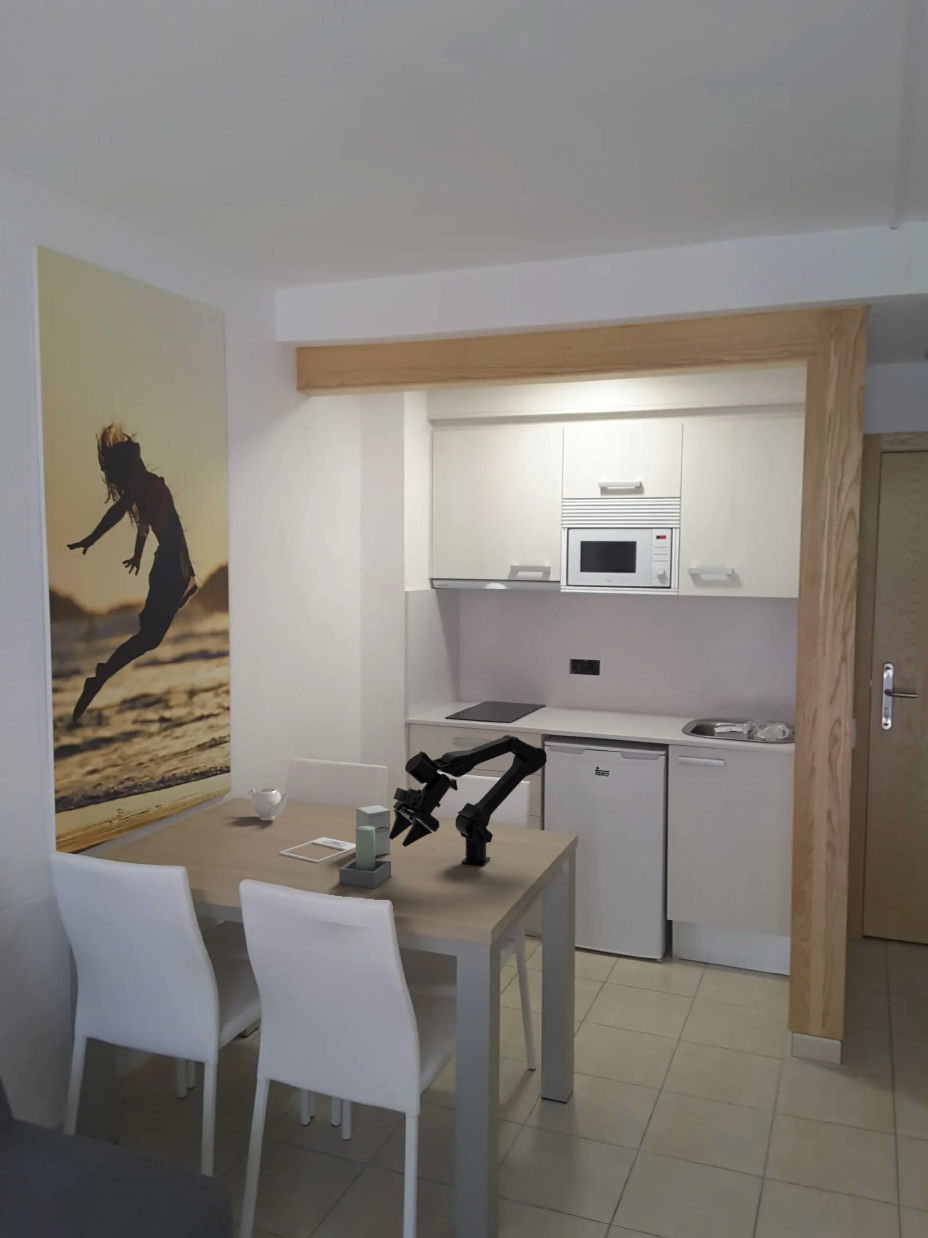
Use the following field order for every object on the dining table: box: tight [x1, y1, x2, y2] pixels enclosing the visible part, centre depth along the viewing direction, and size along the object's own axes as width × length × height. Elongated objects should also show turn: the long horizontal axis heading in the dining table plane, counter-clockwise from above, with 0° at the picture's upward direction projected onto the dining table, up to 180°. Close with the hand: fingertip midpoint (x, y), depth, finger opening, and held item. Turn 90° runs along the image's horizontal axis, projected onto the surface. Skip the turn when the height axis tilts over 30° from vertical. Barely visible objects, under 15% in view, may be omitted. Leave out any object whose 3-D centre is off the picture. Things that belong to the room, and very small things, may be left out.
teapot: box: [247, 787, 289, 821], centre depth 309 cm, size 10×20×9 cm, turn 49°
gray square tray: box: [338, 857, 392, 890], centre depth 250 cm, size 10×10×4 cm
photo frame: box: [279, 836, 356, 864], centre depth 276 cm, size 15×1×18 cm
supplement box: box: [355, 804, 391, 857], centre depth 273 cm, size 7×7×13 cm
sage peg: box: [355, 826, 376, 871], centre depth 250 cm, size 5×5×13 cm
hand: (396, 842), depth 253 cm, fingers open, 9 cm apart
